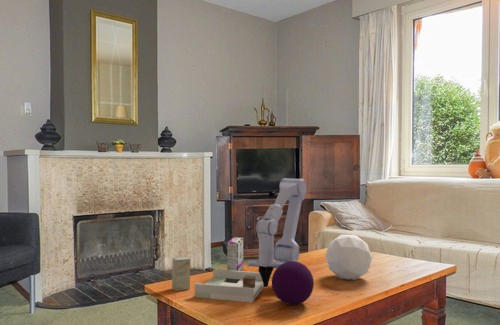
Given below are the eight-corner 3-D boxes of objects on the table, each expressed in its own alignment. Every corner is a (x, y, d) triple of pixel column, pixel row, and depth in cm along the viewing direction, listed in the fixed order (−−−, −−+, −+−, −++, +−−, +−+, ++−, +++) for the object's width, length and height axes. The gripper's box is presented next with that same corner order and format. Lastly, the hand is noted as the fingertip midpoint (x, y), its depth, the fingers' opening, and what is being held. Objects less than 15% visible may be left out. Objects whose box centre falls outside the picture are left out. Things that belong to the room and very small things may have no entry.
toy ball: (265, 307, 146) (265, 264, 146) (279, 294, 159) (280, 255, 159) (306, 313, 140) (307, 269, 140) (318, 300, 153) (318, 259, 153)
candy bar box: (232, 273, 189) (233, 237, 189) (243, 274, 188) (243, 237, 188) (226, 280, 178) (226, 241, 178) (237, 281, 177) (238, 242, 177)
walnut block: (255, 286, 163) (255, 275, 163) (252, 289, 159) (253, 278, 159) (245, 285, 164) (245, 275, 164) (242, 288, 160) (242, 277, 160)
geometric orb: (360, 294, 182) (388, 263, 173) (322, 281, 176) (348, 248, 168) (348, 263, 198) (372, 233, 190) (312, 251, 192) (336, 219, 184)
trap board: (265, 285, 171) (265, 272, 171) (252, 302, 150) (252, 288, 150) (214, 280, 177) (214, 269, 177) (194, 297, 155) (195, 283, 155)
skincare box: (174, 291, 162) (175, 260, 162) (171, 288, 166) (171, 257, 166) (190, 289, 165) (190, 258, 165) (186, 286, 169) (187, 256, 169)
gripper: (245, 251, 158) (245, 287, 158) (283, 254, 154) (283, 291, 154) (249, 248, 165) (249, 282, 165) (286, 250, 161) (285, 285, 161)
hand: (265, 286), depth 160 cm, fingers closed
